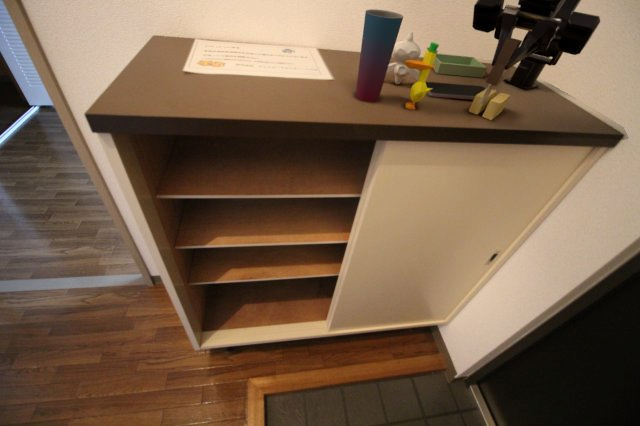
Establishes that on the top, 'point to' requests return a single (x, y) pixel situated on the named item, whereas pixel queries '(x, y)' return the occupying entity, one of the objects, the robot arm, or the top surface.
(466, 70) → the tray
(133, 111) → the top surface
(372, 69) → the cup
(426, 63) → the toy figure
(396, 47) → the figurine
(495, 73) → the knife
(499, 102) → the butter
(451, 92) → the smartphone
